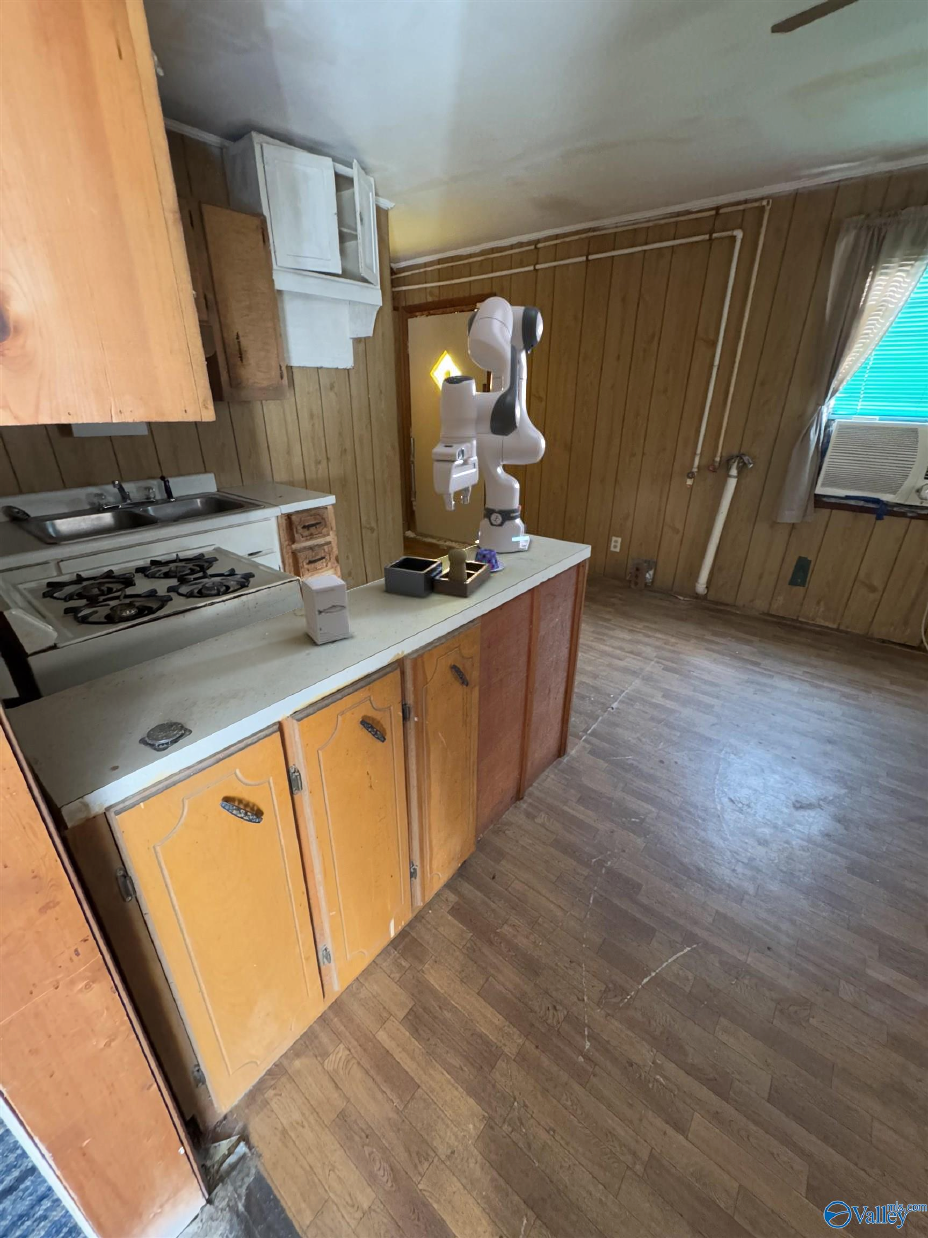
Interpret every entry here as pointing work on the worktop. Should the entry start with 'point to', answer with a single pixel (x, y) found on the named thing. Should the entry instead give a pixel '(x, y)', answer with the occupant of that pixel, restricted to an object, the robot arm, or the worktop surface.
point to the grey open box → (412, 576)
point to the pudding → (489, 559)
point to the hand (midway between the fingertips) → (457, 506)
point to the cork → (457, 565)
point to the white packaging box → (326, 608)
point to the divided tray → (475, 579)
